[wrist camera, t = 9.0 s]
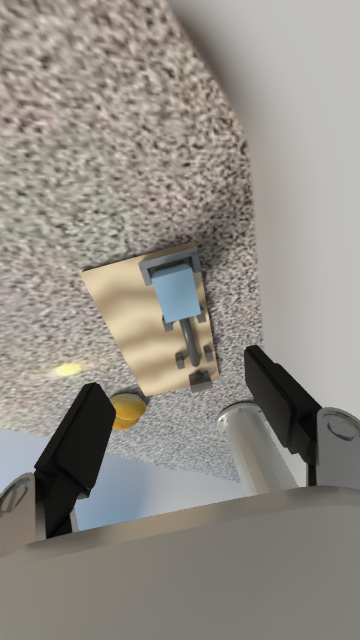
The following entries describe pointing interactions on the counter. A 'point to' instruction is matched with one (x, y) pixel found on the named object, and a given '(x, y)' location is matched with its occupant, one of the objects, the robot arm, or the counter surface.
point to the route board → (152, 326)
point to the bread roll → (127, 410)
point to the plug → (178, 300)
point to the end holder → (169, 257)
